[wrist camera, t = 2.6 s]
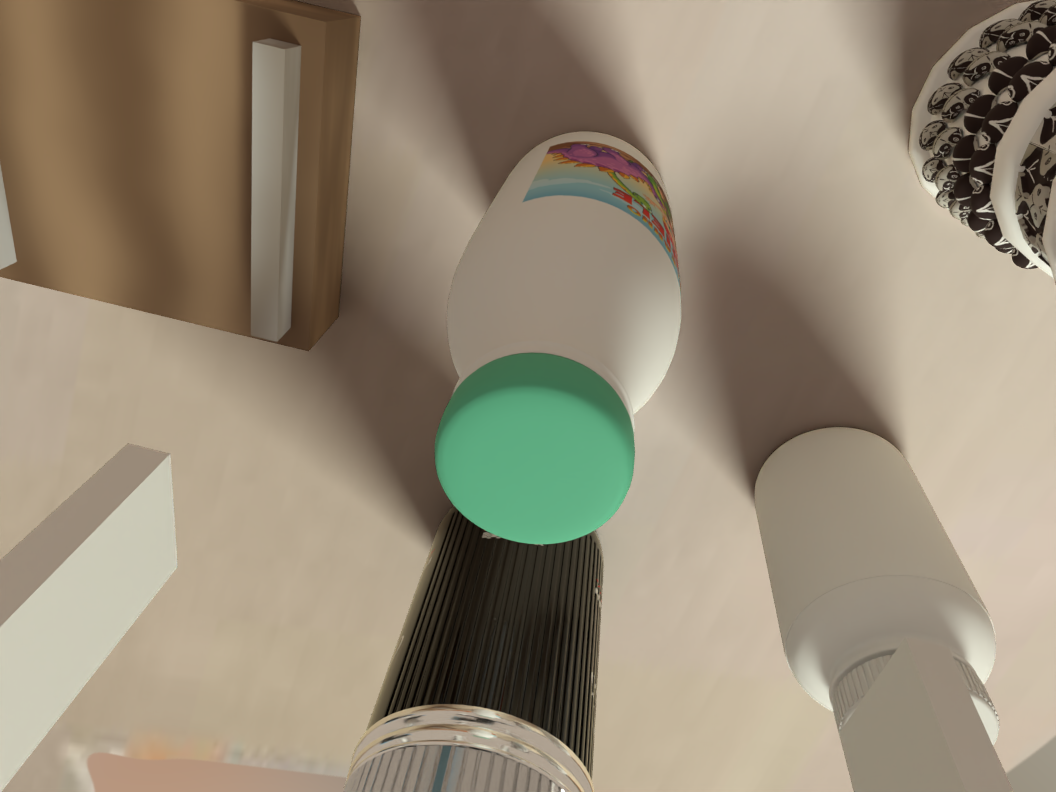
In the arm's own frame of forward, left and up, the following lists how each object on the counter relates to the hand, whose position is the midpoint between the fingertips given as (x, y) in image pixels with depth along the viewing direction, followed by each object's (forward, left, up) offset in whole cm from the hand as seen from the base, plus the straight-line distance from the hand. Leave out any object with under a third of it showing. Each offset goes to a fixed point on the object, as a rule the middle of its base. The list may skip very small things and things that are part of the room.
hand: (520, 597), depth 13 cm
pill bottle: (+16, -11, -24) cm, 31 cm away
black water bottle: (+1, -20, -24) cm, 31 cm away
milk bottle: (0, 0, -24) cm, 24 cm away
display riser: (-19, -1, -24) cm, 31 cm away
